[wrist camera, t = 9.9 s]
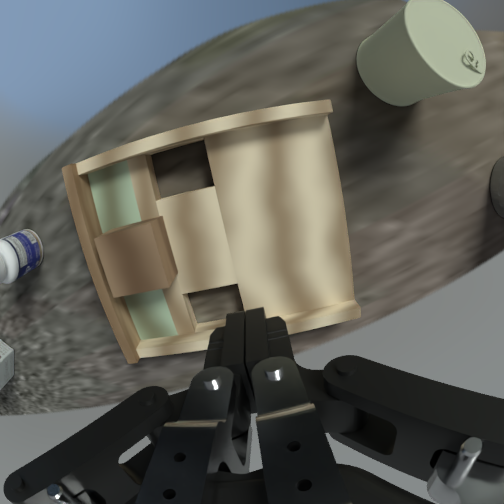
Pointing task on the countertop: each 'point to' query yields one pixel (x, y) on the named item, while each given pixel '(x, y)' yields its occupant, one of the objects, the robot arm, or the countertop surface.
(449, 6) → the can
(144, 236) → the block
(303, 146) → the board
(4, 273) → the pill bottle
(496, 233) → the countertop surface
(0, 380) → the supplement box
